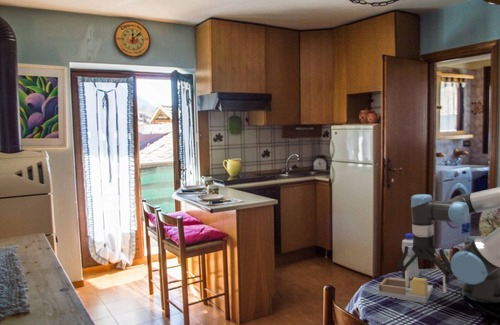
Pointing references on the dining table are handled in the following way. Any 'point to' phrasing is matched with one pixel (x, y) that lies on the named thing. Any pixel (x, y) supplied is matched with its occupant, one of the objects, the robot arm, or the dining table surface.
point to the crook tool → (396, 278)
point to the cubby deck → (401, 290)
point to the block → (419, 286)
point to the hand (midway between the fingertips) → (425, 288)
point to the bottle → (410, 256)
